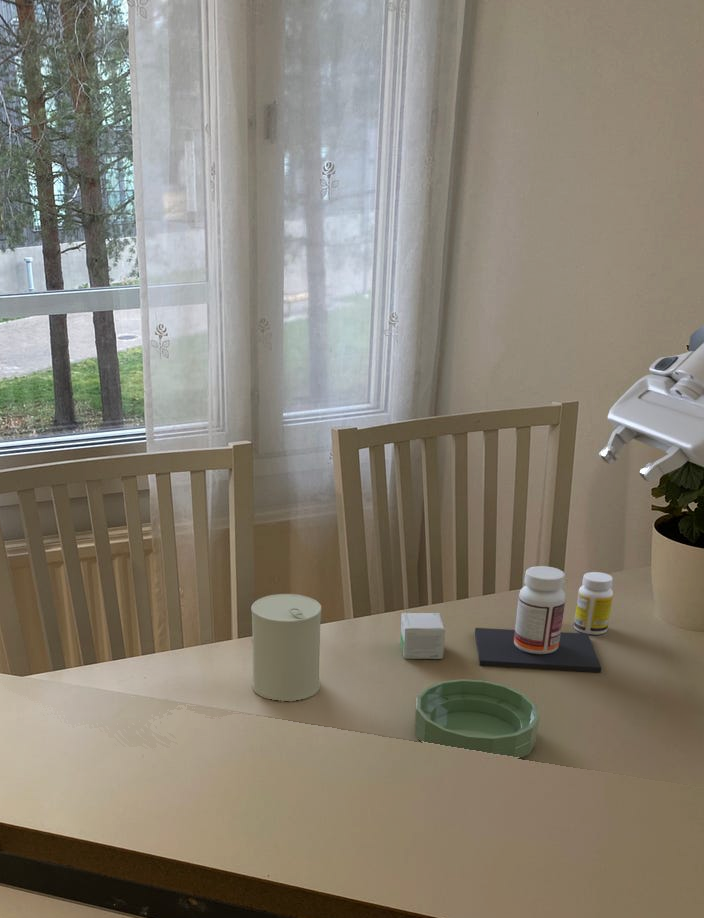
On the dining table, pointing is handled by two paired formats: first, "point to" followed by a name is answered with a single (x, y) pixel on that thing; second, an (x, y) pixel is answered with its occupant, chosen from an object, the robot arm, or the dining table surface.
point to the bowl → (477, 717)
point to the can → (286, 646)
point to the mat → (504, 653)
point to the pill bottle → (540, 610)
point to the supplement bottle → (594, 604)
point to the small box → (422, 636)
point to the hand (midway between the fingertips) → (623, 469)
